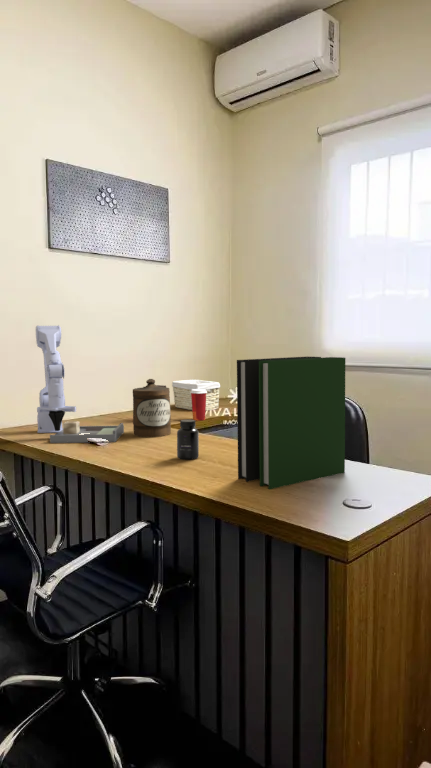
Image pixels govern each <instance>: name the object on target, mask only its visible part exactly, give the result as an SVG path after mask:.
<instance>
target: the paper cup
mask: <svg viewBox="0 0 431 768" xmlns="http://www.w3.org/2000/svg"><path fill="white" fill-rule="evenodd" d="M190 393H191V399H192V410H191V412H192V420H195V422H198V421H199V422H200V421H201V422H202V421H205V420H206V411H207V410H206V393H207V392H206V389H193V390H191V392H190Z"/></svg>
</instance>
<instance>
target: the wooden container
mask: <svg viewBox="0 0 431 768" xmlns="http://www.w3.org/2000/svg"><path fill="white" fill-rule="evenodd" d="M155 383H156V380H155V379H154V378H149V379H147V380H146V385H145V386H146V387H145V386H142V387H137V388H135V387H134V388H132V423H133V435H134V436H136V437H142V438H156V437H157V438H158V437H164V436H168V435H170V434H171V433H172V431H171V430H172V429H171V428H172V425H171V419H172V418H171V417H172V415H171V397H170V388H169V387H167V386H166V387H157V386H156V385H157V384H155Z"/></svg>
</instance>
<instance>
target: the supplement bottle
mask: <svg viewBox="0 0 431 768" xmlns="http://www.w3.org/2000/svg"><path fill="white" fill-rule="evenodd" d="M179 422H180V423H179V427H180V428H178V430H177V432H176V455H177V456H176V457H177V458H178V459H179V460H183V461H191V460H197V459H198V458H199V447H200V446H199V438H200V437H199V435H200V434H199V430H198V429H197V428H196V425H197V424H196V421H195V420H193V419H181V420H180V421H179Z"/></svg>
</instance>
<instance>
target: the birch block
mask: <svg viewBox="0 0 431 768" xmlns="http://www.w3.org/2000/svg"><path fill="white" fill-rule="evenodd" d="M80 424H81V423H80V420H78V421H77V420H76V421H75V420H73V421H68V420H67V421H65V422H64V423H63V422H62V428H63V433H64V434H77V433H78V432H80V426H81V425H80Z"/></svg>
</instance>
